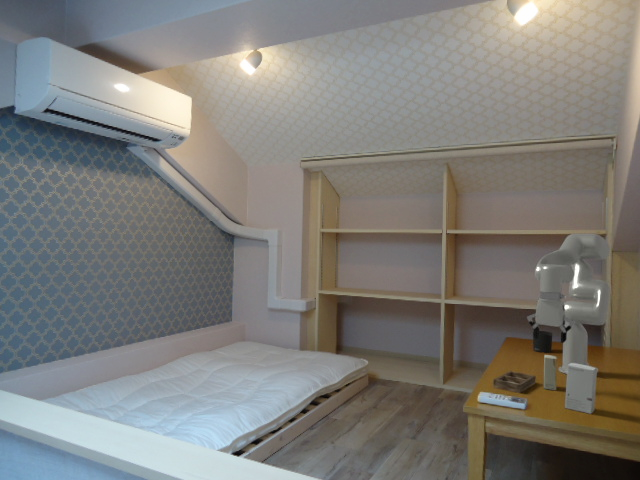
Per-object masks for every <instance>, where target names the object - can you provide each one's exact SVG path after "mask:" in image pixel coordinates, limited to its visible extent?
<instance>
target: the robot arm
mask: <svg viewBox="0 0 640 480" xmlns="http://www.w3.org/2000/svg"><path fill="white" fill-rule="evenodd" d="M610 246H611V245H610V244H609V242H608V241H607V240H606V239H605V238H604V237H603V236H601V235H599V234H597V233H571V234H569V235H567V236H566V237H565V238H564V241H563V242H562V244H561V246H560V247H559V249H557V250H555V251H552V252H550V253H547V254H545V255H543V256H542V257H541V258H540V259H539V261H538V262H537V263H536V267H535V269H534V278H535V280H537V281H538V282H539V284H540V285H539V290H540V291H539V299H538V300H537V304H536V310H535V313H533V314H530V315H527V316H526V319H527V321H528V323H529V325H530V326H531V327H532V329H533V332H534V333H533V332H532V336H533V335H534V336H535V339H537V338H539V331H540V328H539V327H540V325H542V326H549V327H556V328H559V329H560V330H561V333H560V343H562V365H561V366H559V367H558V372H560V373H562V374H566V375H567V369H568V365H569V364H570V363H576V364H582V365H587V366H590V362H588V342H589V341H588V340H589V339H588V336H589V335H588V332H587V330H586V328H585V327H584V325H591V326H592V325H593V326H602V325H605V323H606V322H607V317H608V311H609V305H610V304H609V303H610V296H611V290H610V289H611V288H610V285H609V283H608V282H607V281H605V280H601V279H593V276H594V269H593V267H592V265H590V263H588V262H587V261H586V260H606V259H607V258H608V257H609V256H610V252H611V247H610ZM562 284H563V285H564V284H569V286H568V295H569V297H570V298H572V299H574V300H567V301H564V300H562V299H566V294H563V293H562ZM578 300H579V301H578ZM533 318H534V319H535V322H534V320H533ZM596 368H597V374H598V373H599V368H598V367H596Z"/></svg>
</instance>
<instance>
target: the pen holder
mask: <svg viewBox="0 0 640 480" xmlns="http://www.w3.org/2000/svg"><path fill="white" fill-rule="evenodd" d="M533 333H534V331H532V345H533V346H532V347H533V348H532V349H533V351H534V352H537V353H542V352H544V353H543V354H545V353H546V354H548V353H549V352H550V353H551V352H552V346H553V344H552V343H553V332H552V331H545V330H539V338H537V339H535V336H534V335H533ZM550 353H549V354H550Z"/></svg>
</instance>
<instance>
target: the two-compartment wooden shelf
mask: <svg viewBox="0 0 640 480" xmlns="http://www.w3.org/2000/svg"><path fill="white" fill-rule="evenodd" d="M535 384H536V375H532V374H527V373H523V372H517V371H512V370H510V371H507V372H506V373H504V374H502V375H499V376H498V377H495V378H494V379H493V388H496V389H501V390H504V391H508V392H513V393H517V394H520V393H523V392H524V391H526V390H528V389H529V388H531V387H532V386H533V385H535Z"/></svg>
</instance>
